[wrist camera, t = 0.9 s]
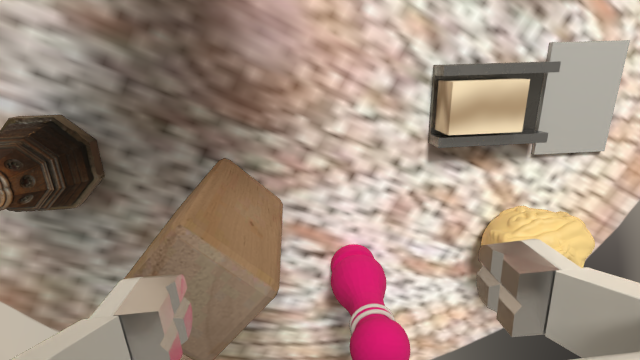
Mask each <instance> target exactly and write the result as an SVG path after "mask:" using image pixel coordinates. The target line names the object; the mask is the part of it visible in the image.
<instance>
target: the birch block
mask: <svg viewBox="0 0 640 360" xmlns="http://www.w3.org/2000/svg"><path fill="white" fill-rule="evenodd" d="M529 84H530V79H517V78H497V79H468V80H439V81H438V93H437V107H436V120H435V130H437V131H440V132H442V133H444V134H447V135H466V134H488V133H510V132H522V130H523V123H524V117H525V110H526V104H527V97H528V91H529Z"/></svg>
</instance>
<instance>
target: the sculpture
mask: <svg viewBox="0 0 640 360" xmlns="http://www.w3.org/2000/svg"><path fill="white" fill-rule="evenodd" d="M527 239H539V240H541V241H542V242H544V243H545V244H547V245H548V246H550V247H551V248H553V249H554V250H556V251H557V252H559V253H560V254H562V255H563V256H565V257H566V258H567V259H569V260H570V261H572V262H573V263H575V264H576V265H578V266H579V267H581V268H583V266H584V262H585V259H586V258H587V257H588V255H589V254H591V253H592V250H593V249H594V247H595V241H594V239H593V237H592V235H591V233H590V232H589V231H588V230H587V229H586V226H585V224H584V222H583V221H582V220H580V219H579V218H577V217H574V216H571V215H569V214H568V213H566V212H561V211H560V212H556V213H555V212H551V211H548V210H543V209H533V208H528V207H526V206H517V207H515V208H510V209H507V210H505V211H502V212H501V213H500V214H499V216H497V217H496V218H495V219H493V220H492V221H491V222H490V223H489V225H488V226H487V227H486V229H485V231H484V233H483V236H482V241H481V246H482V245H487V244H496V243H504V242H512V241H520V240H527Z"/></svg>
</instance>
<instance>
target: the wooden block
mask: <svg viewBox="0 0 640 360" xmlns="http://www.w3.org/2000/svg"><path fill="white" fill-rule="evenodd" d="M282 210H283V204H282V202H281V200H280V199H279V198H278V197H276V196H275V195H274V194H273V193H271V192H270V191H269V190H267V189H266V188H265V187H264V186H262V185H261V184H260V183H259V182H257V181H256V180H255V179H253V178H252V177H251V176H250V175H248V174H247V173H246V172H245V171H243V170H242V169H241V168H240V167H238V166H237V165H236V164H234V163H233V162H232V161H231V160H228V159H225V158H224V159H222V160H220V161H218V162H217V163H216V165H215V166H214V167H213V168H212V169H211V171H210V172H209V173H208V174H207V175H206V176H205V178H204V179H203V180H202V181H201V182H200V184H199V185H198V186H197V187H196V188H195V189H194V191H193V192H192V193H191V194H190V195H189V197H188V198H187V199H186V200H185V201H184V202H183V204H182V205H181V206H180V207H179V208H178V210H177V211H176V212H175V214H174V215H173V216H172V217H171V219H170V220H169V221H168V223H167V224H166V225H165V226H164V228H163V229H162V230H161V232H160V233H159V234H158V236H157V237H156V238H155V239H154V241H153V242H152V243H151V245H150V246H149V247H148V248H147V250H146V251H145V252H144V254H143V255H142V256H141V257H140V259H139V260H138V261H137V263H136V264H135V265H134V266H133V268H132V269H131V270H130V272H129V273H128V274H127V276H126V277H125V278H124V279H127V278H136V277H149V276H162V275H175V274H182V275H183V276H184V277H185V280H186V284H187V290H186V292H185V294H184V297H185V298H186V299H187V300H188V301H189V302H190V303H191V308H192V318H193V320H192V328H191V332H190V335H189V338H188V340H187V341H186V342H184V343H183V344H182V345H181V347H182V352H183V354H185V355H186V356H188V357H190V358H191V359H193V360H214V359H215V358H216V357H217V356H218V355H219V354H220V353H221V351H222V350H223V349H224V348H225V347H226V346H227V345H228V344H229V343H230V342H231V341H232V340H233V339H234V338H235V337H236V336H237V335H238V334H239V333H240V332H241V331H242V330H243V329H244V328H245V327H246V326H247V325H248V324H249V323H250V322H251V321H252V320H253V319H254V318H255V317H256V316H257V315H258V314H259V313H260V312H261V311H262V310H263V309H264V307H265V306H266V305H267V304H268V303H269V302H270V301H271V300H272V299H273V298H274V297H275V296H276V295H277V292H278V289H279V281H280V257H281V234H282Z"/></svg>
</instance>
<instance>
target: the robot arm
mask: <svg viewBox="0 0 640 360" xmlns="http://www.w3.org/2000/svg"><path fill="white" fill-rule="evenodd" d="M478 260H479V261H480V262H481V264H482V265H483V266H482V267H481V269H480V270H479V271H478V273H477V283H476V284H477V289H478V293H479V296H480V298H481V300H482V301H483V303H484V304H485V305H486V306H487V308H490V309H492V310H494V311H496V312H497V320H498V321H499V322H500V324H501V325H502V326H503V327H504V328H505V329H506V331H507V332H508V333H509V334H510V336H511V337H517V336H529V335H542V334H545V336H546V337H548V338H550V339H551V340H553V341H555V342H556V343H558V344H560V345H561V346H563V347H565V348H566V349H568V350H570V351H572V352H573V353H575V354H576V355H578V356H580V357H582V359H572V360H640V283H637V282H634V281H631V280H627V279H624V278H621V277H617V276H613V275H611V274H607V273H604V272H600V271H597V270H593V269H591V268H581V267H579V266H578V265H576V264H575V263H573V262H572V261H570V260H569V259H567V258H566V257H565V256H563V255H562V254H560V253H559V252H557V251H556V250H554V249H553V248H551V247H550V246H548V245H547V244H545V243H544V242H542V241H541V240H539V239H527V240H520V241H512V242H504V243H496V244H487V245H482V246H481V247H480V250H479V255H478ZM186 290H187V284H186V280H185V277H184V276H183V275H182V274H175V275H162V276H149V277H136V278H127V279H123V280H120V281H119V282H118V284H117V285H116V286H115V287H114V289H113V290H112V291H111V292H110V293H109V295H108V296H107V297H106V298H105V299H104V301H103V302H102V303H101V304H100V305H99V307H98V308H97V309H96V310H95V312H94V313H93V314H92V315H91V316H90V318H89V319H82V320H80V321H78V322H76V323H75V324H73V325H71V326H69V327H68V328H66V329H64V330H62V331H60V332H59V333H57V334H55V335H53V336H52V337H50V338H48V339H46V340H44V341H43V342H41V343H39V344H38V345H36V346H34V347H32V348H30V349H28V350H27V351H25V352H23V353H21V354H20V355H18V356H16V357H14V358H12V359H11V360H180V359H181V356H182V354H183V352H182V347H181V345H182V344H183V343H184V342H186V341H187V340H188V338H189V335H190V332H191V328H192V320H193V318H192V308H191V303H190V302H189V301H188V300H187V299H186V298H185V297H184V294H185V292H186Z"/></svg>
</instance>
